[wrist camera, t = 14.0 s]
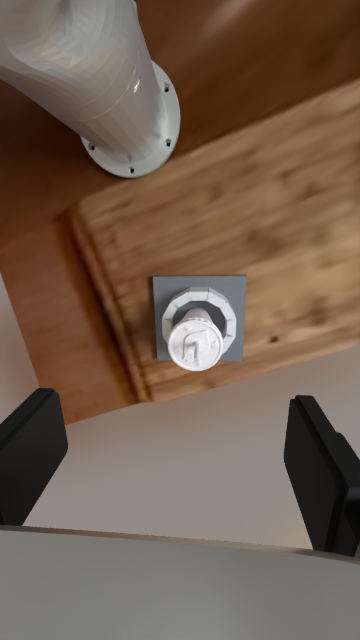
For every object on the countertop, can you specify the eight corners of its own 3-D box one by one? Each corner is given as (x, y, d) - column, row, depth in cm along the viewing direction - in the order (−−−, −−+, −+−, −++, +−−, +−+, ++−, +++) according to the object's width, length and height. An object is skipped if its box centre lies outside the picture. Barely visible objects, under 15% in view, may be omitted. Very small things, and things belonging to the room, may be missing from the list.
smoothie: (228, 313, 40) (239, 356, 26) (204, 347, 42) (203, 403, 28) (190, 290, 39) (182, 322, 26) (167, 326, 41) (149, 372, 28)
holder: (154, 275, 40) (148, 280, 36) (245, 274, 39) (250, 279, 35) (158, 357, 44) (154, 369, 40) (241, 358, 43) (244, 371, 39)
